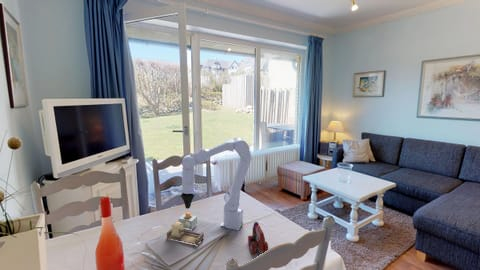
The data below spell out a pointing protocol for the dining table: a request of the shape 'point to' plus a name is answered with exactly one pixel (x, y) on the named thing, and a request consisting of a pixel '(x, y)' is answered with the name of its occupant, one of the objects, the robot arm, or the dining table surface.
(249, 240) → the toy fire truck
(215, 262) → the dining table surface
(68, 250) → the dining table surface
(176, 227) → the block
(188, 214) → the orange rounded peg
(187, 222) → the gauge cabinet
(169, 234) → the rail deck
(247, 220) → the dining table surface
